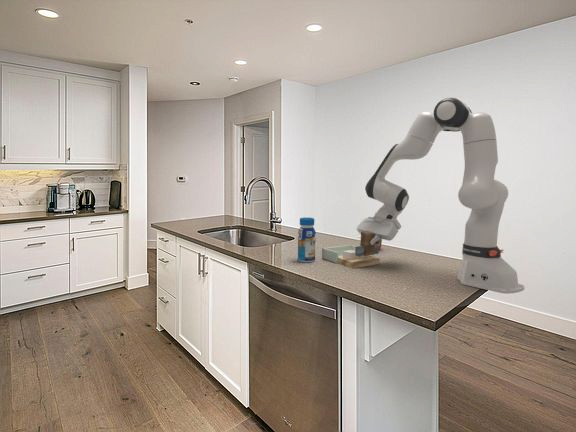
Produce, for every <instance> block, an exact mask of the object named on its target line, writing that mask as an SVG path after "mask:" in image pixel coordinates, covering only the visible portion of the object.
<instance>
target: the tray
mask: <svg viewBox="0 0 576 432" xmlns="http://www.w3.org/2000/svg"><path fill="white" fill-rule="evenodd" d="M356 246H357V245H353V244H346V245H339V246H330V247H322V248H321V249H322V250H321V259H323V260H325V261H328V262H331V263H334V264H339V263H338V258H341V257H343V251H347V250H354V249H356Z"/></svg>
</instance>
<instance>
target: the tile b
mask: <svg viewBox="0 0 576 432" xmlns="http://www.w3.org/2000/svg"><path fill="white" fill-rule="evenodd" d="M343 258H346V259H350V260H351V259H358V258H359V256H355V251H354V250H347V251H343Z"/></svg>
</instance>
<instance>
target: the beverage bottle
mask: <svg viewBox="0 0 576 432" xmlns="http://www.w3.org/2000/svg"><path fill="white" fill-rule="evenodd" d="M299 226H300V228H299V229H298V231H297V232H298V233H297V234H298V236H297V261H298V262H301V263H313V262H315V261H316V240H317V238H316V233H317V232H316V229H315V228H314V226H315V218H314V217H300V218H299Z"/></svg>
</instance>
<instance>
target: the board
mask: <svg viewBox="0 0 576 432" xmlns="http://www.w3.org/2000/svg"><path fill="white" fill-rule="evenodd" d="M380 262H381V259H380V257H375V256H374V255H369V257H365V258H358V259H351V260H350V259H346V258H343V257H341V258H338V263H337V264H339V265H342V266H345V267H348V268H351V269H357V268H362V267H363V268H364V267H367V266H368V267H370V266H374V265H380Z"/></svg>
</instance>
